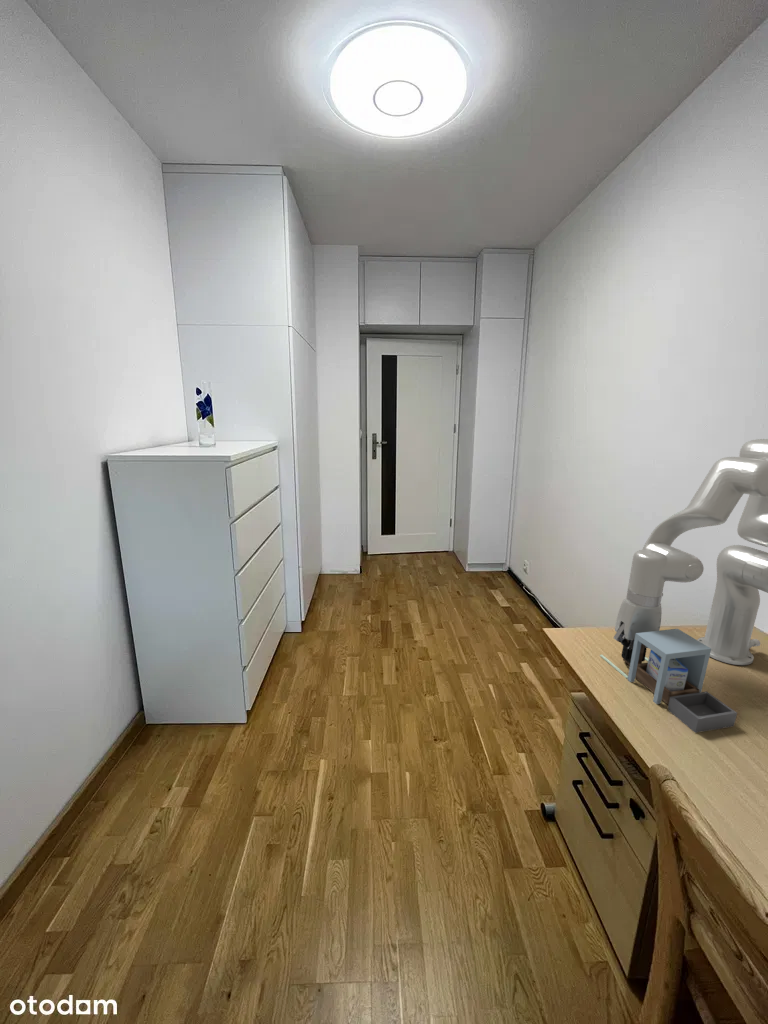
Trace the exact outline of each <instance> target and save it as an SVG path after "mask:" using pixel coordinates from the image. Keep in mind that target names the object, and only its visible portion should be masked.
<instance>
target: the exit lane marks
mask: <svg viewBox="0 0 768 1024" xmlns="http://www.w3.org/2000/svg"><path fill="white" fill-rule="evenodd" d="M599 656H600V658H601V659H603V660H604V661H605V662H606V663H607V664H609V666H611V667H612V668H613V669H614V670H616V671H617V672H618V673H619V674H621V675H622V676H623V677H624V678H625V679H628V674H626V673H625V672H624V671H622V669H621V668H619V667H618V666H617V665H615V664H614V663H613V662H612V661H611V660H609V659H608V658H607V657H606V656H604V654H599ZM648 660H649V657H646V656H645V661H646V662H648Z"/></svg>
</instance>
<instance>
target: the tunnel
mask: <svg viewBox="0 0 768 1024" xmlns="http://www.w3.org/2000/svg"><path fill="white" fill-rule="evenodd" d="M641 643H642V644H644V645H645V646H647V647H648V648H647V649H648V650H649V649H650V651H651V650H652V651H654V652H655V653H657V654H658V655H659V656H661V657H662V658H661V663H660V668H659V673H658V678H657V683H656V688H655V693H653V698H652V702H653V703H654V704H656V705H661V704H662V701H663V700H662V695H663V690H664V685H665V680H666V675H667V670H668V665H669V660H670V659H674V658H676V659H678V660H679V661H680V662H681V663H682V664H683V665H684V666H685V667H686V668H688V674H687V678H686V680H687V681H688V682H689V683H691V684H692V685H694V686H695V687H696V688H698V689H699V690H700V691H699V692H703V686H704V681H705V677H706V673H707V669H708V664H709V660H710V652H711V648H709V647H708V646H706V645H704V644H703V643H701V642H699V641H698V639H695V638H694V637H692V636H691V635H689V634H688V633H686V632H684V631H682V630H681V629H679V628H670V629H662V630H661V629H660V630H659V631H651V632H642V633H636V634H635V640H634V646H633V651H632V657H631V663H630V665H629V667H628V674H627V676H628V678H627V681H628V682H630V683H634V682H635V681H636V678H635V676H636V671H637V665H638V660H639V654H640V649H641Z"/></svg>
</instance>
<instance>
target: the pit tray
mask: <svg viewBox="0 0 768 1024" xmlns="http://www.w3.org/2000/svg"><path fill="white" fill-rule="evenodd" d="M667 705H668V704H667ZM667 710H668V712H669V713H671V714H672V715H673V716H675V718H677V719H678V720H679V721H681V722H682V723H683V725H686V726H687V728H689V729H690V730H691V731H692V732H694V733H695V734H696V733H702V732H708V731H713V730H719V729H725V728H732V727H734V726H735V724H736V720H737V715H738V712H737V711H735V710H734V709H732V708H731V707H729V706H728V705H727V704H726V703H724V702H723V701H721V700H720V699H719V698H718V697H716V696H714V695H713V694H711V693H710V692H709V691H708V690H707V691H701V692H699V693H692V694H685V695H679V696H672V697H670V700H669V705H668V706H667Z"/></svg>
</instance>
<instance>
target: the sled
mask: <svg viewBox="0 0 768 1024" xmlns="http://www.w3.org/2000/svg"><path fill="white" fill-rule="evenodd" d="M627 642H628V643H629V640H627ZM633 646H634V645H633ZM644 647H645V645H644V644H642V643H641V649H640V654H639V660H638V665H637V671H636V676H635V680H637V681H639V682H640V683H641V684H642V685H644V686H645V687H646V688H648V689H649V691H651V692H652V693H653V694H654V693H655V688H656V683H657V680H655V679H654V678H653V677H651V676H650V675H649V674H648V673H646V669H647V665H648V662H643V661H642V658H643V653H644ZM622 661H624V662H625V663H626V664H627V665H628V666H630V663H629V662H627V661H626V660H625V659H624V658H622ZM699 691H700V690H699V689H698V688H696V687H695V686H694V685H692V684H691V683H689V682H688V681H687V680H686V682H685V687H684V690H680V691H673V692H671V691H669V690H668V689H667V688H666V687H664V690H663V695H662V700H661V701H663V702H664V703H665V704H667V705H669V700H670V697H672V696H679V695H685V694H692V693H699Z"/></svg>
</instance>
